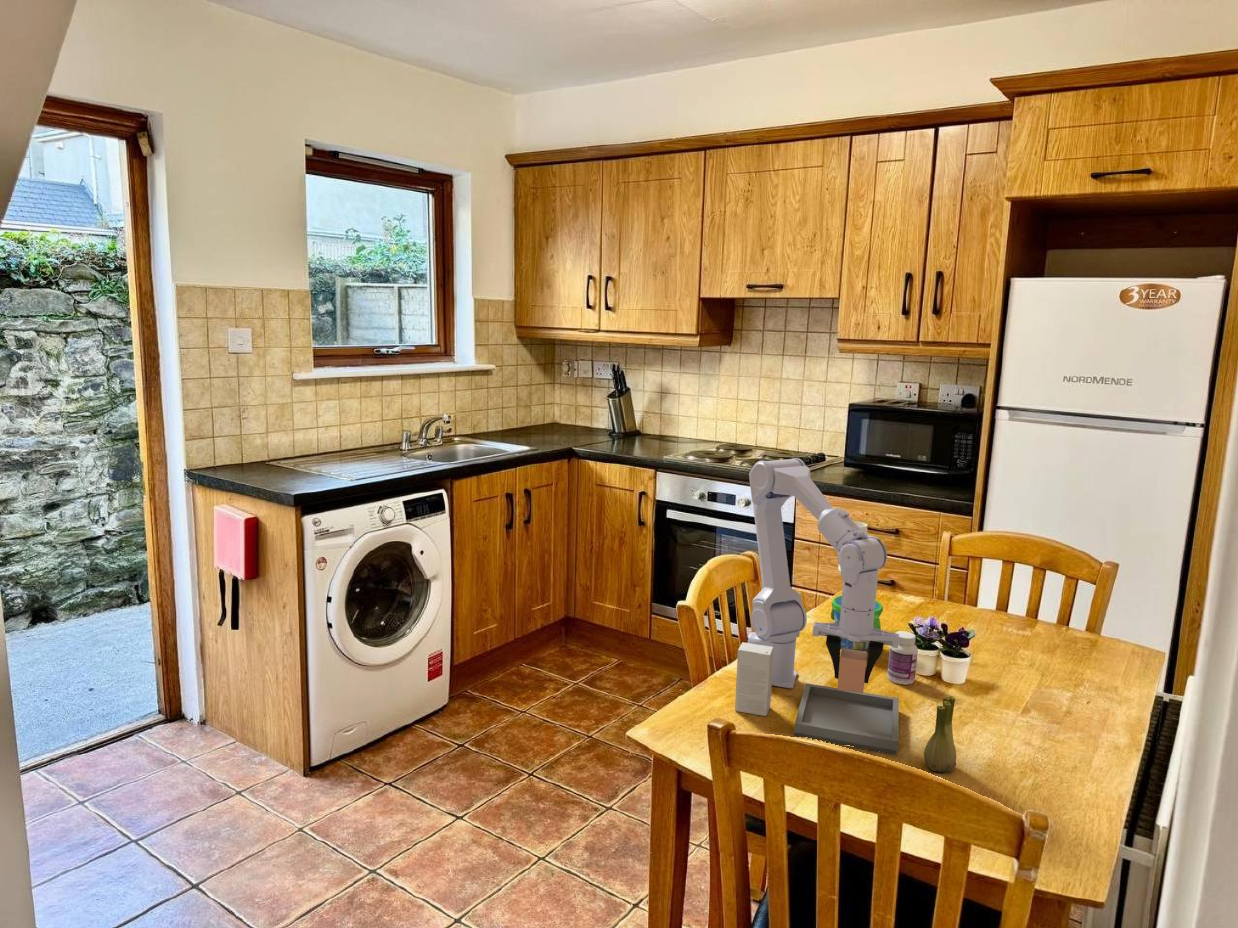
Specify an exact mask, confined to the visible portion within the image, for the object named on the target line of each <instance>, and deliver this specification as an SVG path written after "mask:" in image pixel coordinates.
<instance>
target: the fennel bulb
mask: <svg viewBox="0 0 1238 928" xmlns="http://www.w3.org/2000/svg"><path fill="white" fill-rule="evenodd" d="M942 700H943V701H942V705H937V707H936V719H935V729H934V732H933V733H932V735H931V736H930V738H929V739H928V741H927V743H926V744H925V747H924V750H923V759H924V762H925V765H926V767H927V768H928V769H929V770H931V771H933V772H943V773H944V772H946V773H947V772H948V773H949V772H951V771H953V770H954V769H955V768H956V765H957V750H956V745H955V742H954V735H953V734H954V733H953V717H954V709H955V703H956V699H955V697H954V696H952V695H948V696H944V697H943V698H942Z"/></svg>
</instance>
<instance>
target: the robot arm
mask: <svg viewBox="0 0 1238 928" xmlns="http://www.w3.org/2000/svg"><path fill="white" fill-rule="evenodd" d="M748 476H749V478H748V479H749V486H750V494H751V495H750V496H751V502H752V506H753V513H754V514H753V516H754V523H755V524H754V525H755V534H756V541H757V549H758V551H757V552H758V557H759V558H758V559H759V568H760V576H761V585H762V589H761V590H760V591H759V592H758V593H757V594H756V595H755V596H754V598H753V599H752V601H751V602H752V612H751V617H750V618H751V619H750V621H751V626H752V629H753V631H752V632H751V631H750V632H749V635H748V638H747V643H751V644H757V645H764V646H771V647H774V652H773V669H772V686H773V687H780V688H786V689H793V688H794V685H795V682H796V678H797V676H798V670H795V661H796V660H795V659H796V658H795V657H796V649H797V648H796V645H797V638H799V637H800V633H801V632H802V631H803V630H804V629H805V628H806V625H807V620H808V618H807V613H806V609H805V607H804V605H803V602H802V597H801V596H802V595H801V594H800V593H799V592H798V591H796V589H794V588H793V587H791V582H790V581H791V580H790V573H789V566H788V559H787V558H788V557H787V548H786V539H785V531H784V523H783V522H784V521H783V514H782V507H783V506H784V504H785V503H786V502H787V501H788V500H789V499H790V498H792V497H794V498H795V499H796V500H797V501H798V502H799V503H800V504H801V505H802V506H803V507H804V508H805V509H806V510H807V511H808V512H810V513H811V515H812V516H813V517H814V518H815V519H816V520H817V530H818V532H820V534H821V535H822V537H824V539H825V540H826V541H827V542H828V543H829V544H830V546H832V548H833V549H834V550H835V551H836V553H837V561H838V566H839V565H840V567H841V574H840V577H841V580H842V591H841V596H842V600H841V611H840V623H835V622H817V621H814V622H813V625H812V636H813V637H819V636H821V637H826V640H825V645H826V648H827V650H828V653H829V655H830V658H831V662H832V666H833V671H834V679H837V680H838V676H839V664H840V655H841V650H842V648H841V640H842V639H848V640H850V641H855V642H860V641H862V642H869V646H868V650H867V659H866V670H865V679H864V684H869V680H870V676H871V674H872V671H873V669H874V667H875V665H876V663H877V662H878V660H879V659H880V657H881V656H882V654H883V652H884V646H889V647H890V646H892V647H893V648H898V644H899V634H897V633H896V632H892V631H891V632H890V631H886V630H882V629H881V630H879V629H876V628H873V623H874V612H875V601H877V587H878V578H879V570H881V569H883V568H884V567H885V565H886V563H887V560H888V553H887V551H888V550H887V549H886V546H885V544H884V543H883V541H882V540H881V539H880V538H879V537H877V536H872V535H870V534H869V533H867V534H865V533H864V532H863V531H862V530H861V529H860V528H859V527H858V526H857V525H856V523H855V522H856V521H855V520H853V519H852V518H851V517H850V513H849V512H848V511H847V510H846V509H843V508H838V507H837V508H833V506H832V505H831V503H830V502H829V501H828V499H827V498H826V496H824V494H823V493H822V491H821V490H820V489H819V488H818V486H817V485H816V484H815V483H814V481H813V480H812V479H811V478H812V477H811V469H810V468H809V466H807V464H806V463H805V462H804V461H803V460H802V459H800V458H798V457H793V458H788V459H778V460H777V459H775V460H774V459H773V460H758V461H757V462H756V463H754V465H753V467H752V468H751V470H750V472H749V473H748Z"/></svg>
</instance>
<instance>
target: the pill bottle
mask: <svg viewBox="0 0 1238 928" xmlns="http://www.w3.org/2000/svg"><path fill="white" fill-rule="evenodd" d="M895 633H897V634H899V644H898V648H893V647H892V646H889V656H888V666H887V667H888V668H887V675H886V676H887V679H888V680H889V681H890V682H892V683H893V684H897V683H898V685H902V684H903V685H904V686H907V685H908V684H909V685H912V684H913V683H914V682H915V680H916V673H917V665H918V664H917V663H918V662H917V661H918V654H919V653H918V652H919V650H918V649H919V648H918V647H917V645H916V635H915V633H912V632H909V631H905V630H899V631H895Z"/></svg>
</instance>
